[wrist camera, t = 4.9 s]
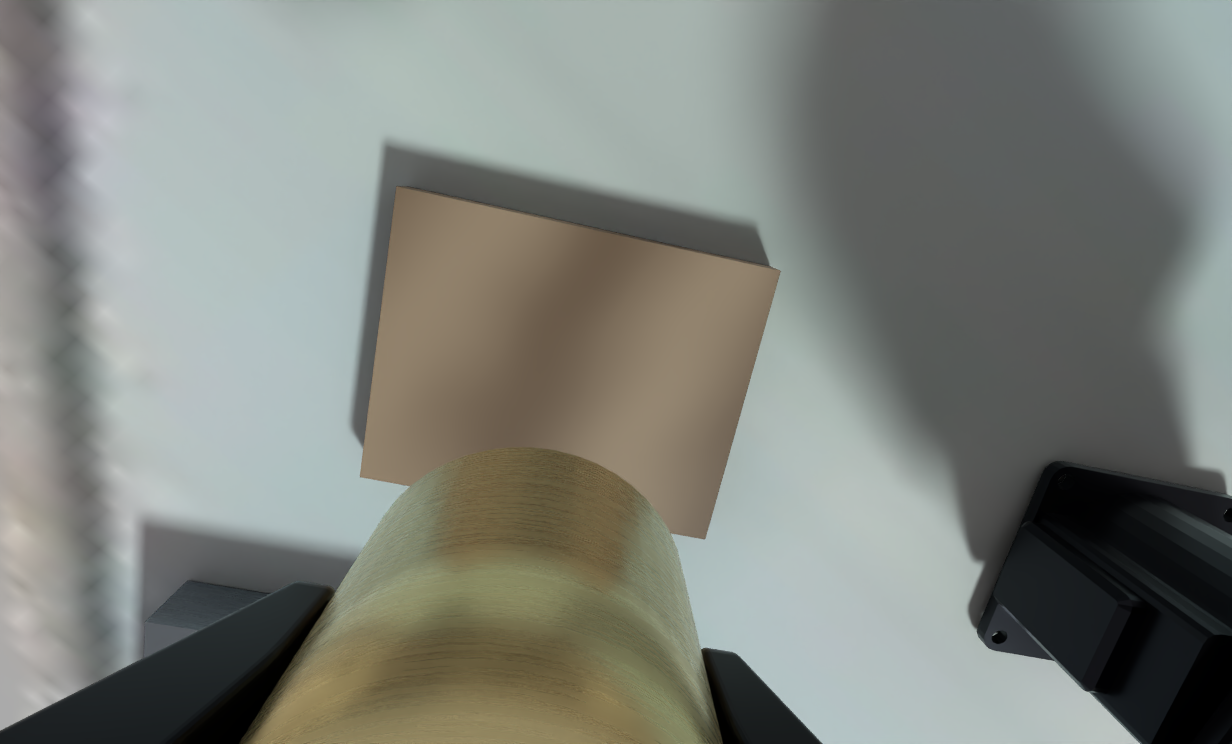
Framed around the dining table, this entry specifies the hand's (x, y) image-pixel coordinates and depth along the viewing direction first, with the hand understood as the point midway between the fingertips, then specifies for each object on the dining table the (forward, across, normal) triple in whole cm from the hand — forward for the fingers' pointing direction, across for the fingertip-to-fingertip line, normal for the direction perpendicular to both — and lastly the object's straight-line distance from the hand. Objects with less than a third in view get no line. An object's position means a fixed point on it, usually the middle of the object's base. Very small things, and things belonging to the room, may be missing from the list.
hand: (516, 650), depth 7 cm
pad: (+12, 0, 0) cm, 12 cm away
